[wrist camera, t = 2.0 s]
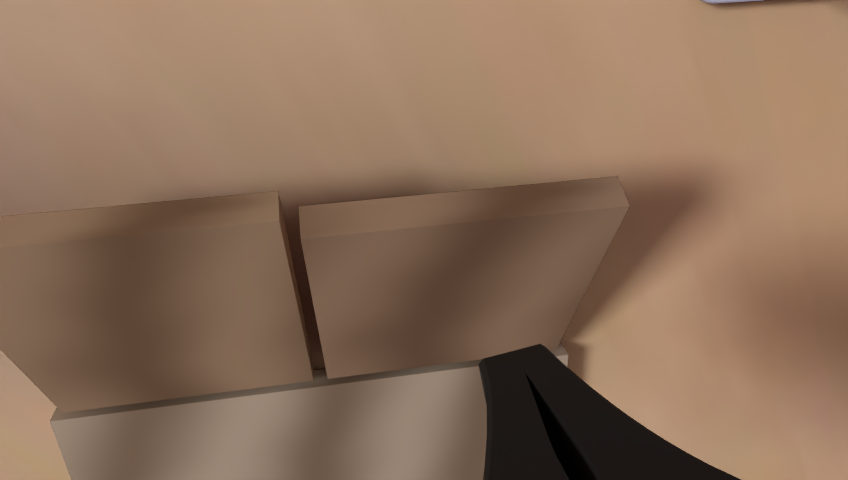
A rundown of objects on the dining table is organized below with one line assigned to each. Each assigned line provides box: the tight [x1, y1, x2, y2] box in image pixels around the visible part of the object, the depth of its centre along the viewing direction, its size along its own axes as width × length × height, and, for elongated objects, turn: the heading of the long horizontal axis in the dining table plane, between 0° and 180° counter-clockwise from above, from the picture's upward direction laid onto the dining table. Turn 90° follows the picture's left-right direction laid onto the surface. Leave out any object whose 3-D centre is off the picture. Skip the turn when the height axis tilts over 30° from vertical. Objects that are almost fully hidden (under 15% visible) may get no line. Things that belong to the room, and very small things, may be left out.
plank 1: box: [0, 191, 314, 413], centre depth 20 cm, size 8×9×1 cm
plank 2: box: [299, 176, 630, 379], centre depth 21 cm, size 8×9×1 cm
